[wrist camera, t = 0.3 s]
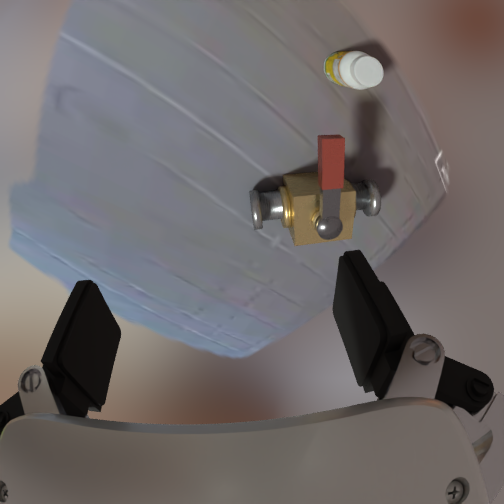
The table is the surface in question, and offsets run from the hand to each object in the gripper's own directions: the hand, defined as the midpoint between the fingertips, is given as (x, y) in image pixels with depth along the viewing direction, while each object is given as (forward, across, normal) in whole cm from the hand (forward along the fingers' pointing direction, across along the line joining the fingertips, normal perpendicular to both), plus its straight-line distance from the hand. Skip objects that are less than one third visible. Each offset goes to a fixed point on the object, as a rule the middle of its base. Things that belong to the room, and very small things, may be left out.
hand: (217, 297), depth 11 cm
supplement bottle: (+35, -18, -8) cm, 40 cm away
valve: (+35, -13, +13) cm, 39 cm away
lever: (+26, -13, +8) cm, 30 cm away
